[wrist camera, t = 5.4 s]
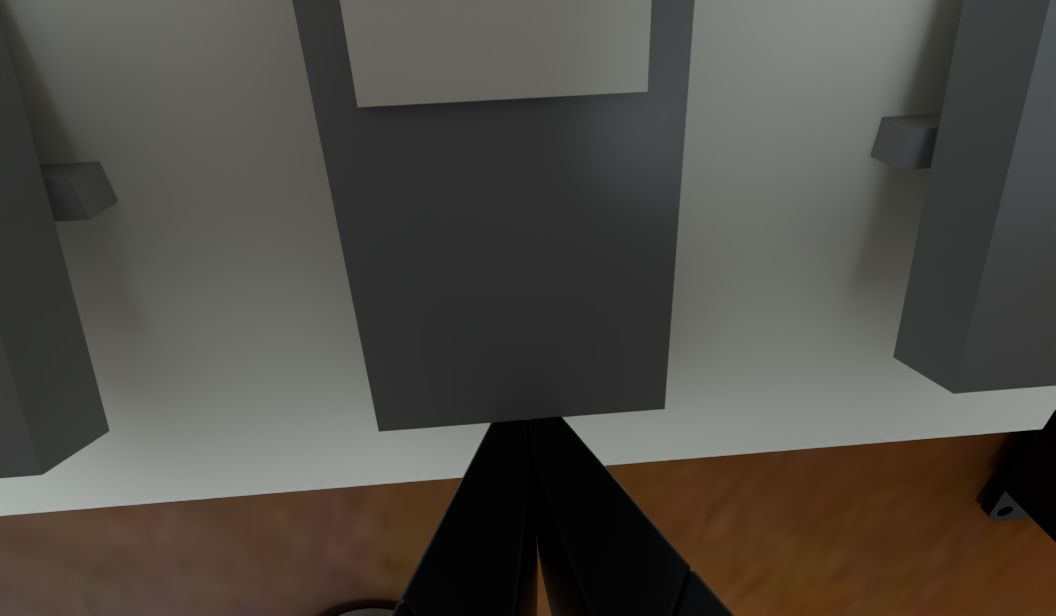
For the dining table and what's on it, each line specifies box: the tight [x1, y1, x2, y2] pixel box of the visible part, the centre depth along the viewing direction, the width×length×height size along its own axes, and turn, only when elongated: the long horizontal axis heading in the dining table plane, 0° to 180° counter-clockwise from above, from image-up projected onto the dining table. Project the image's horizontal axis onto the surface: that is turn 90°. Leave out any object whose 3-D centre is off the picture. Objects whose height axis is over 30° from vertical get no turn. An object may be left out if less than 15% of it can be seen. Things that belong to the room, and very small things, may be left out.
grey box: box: [292, 0, 695, 432], centre depth 7 cm, size 4×6×1 cm, turn 2°
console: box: [0, 0, 1056, 516], centre depth 9 cm, size 24×14×4 cm, turn 92°
